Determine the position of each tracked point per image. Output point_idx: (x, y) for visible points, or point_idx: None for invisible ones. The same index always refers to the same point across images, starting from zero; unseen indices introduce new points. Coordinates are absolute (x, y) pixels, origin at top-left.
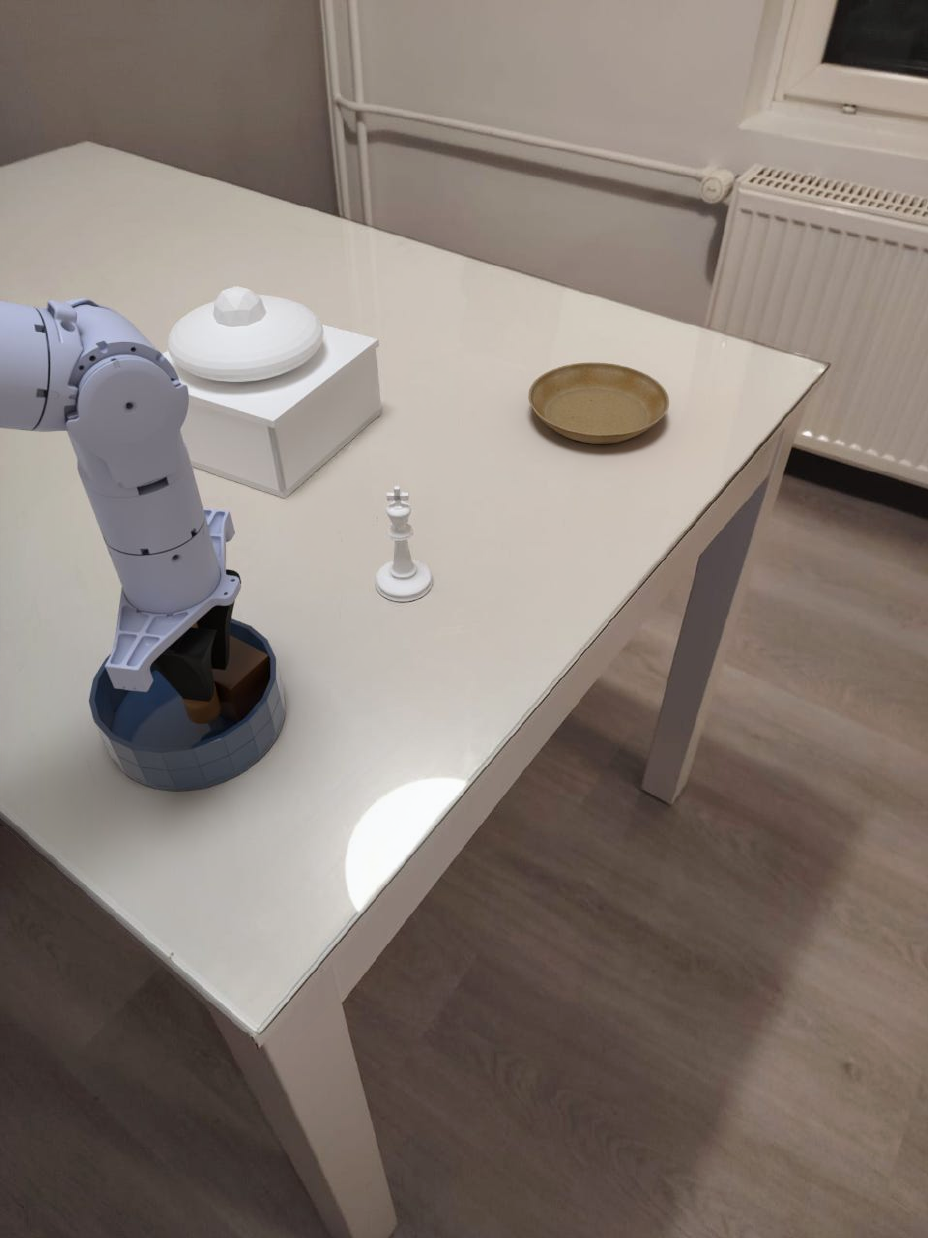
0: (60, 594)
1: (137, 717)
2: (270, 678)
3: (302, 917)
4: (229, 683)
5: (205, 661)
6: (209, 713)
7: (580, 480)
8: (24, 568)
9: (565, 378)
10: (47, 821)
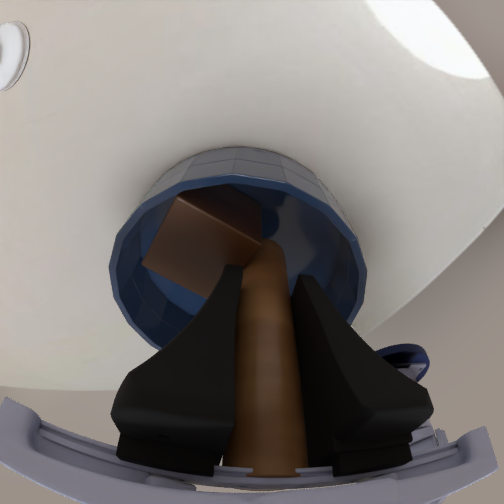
0: (110, 369)
1: None
2: (233, 182)
3: (489, 125)
4: (248, 247)
5: (368, 358)
6: (281, 255)
7: None
8: (98, 385)
9: None
10: None
